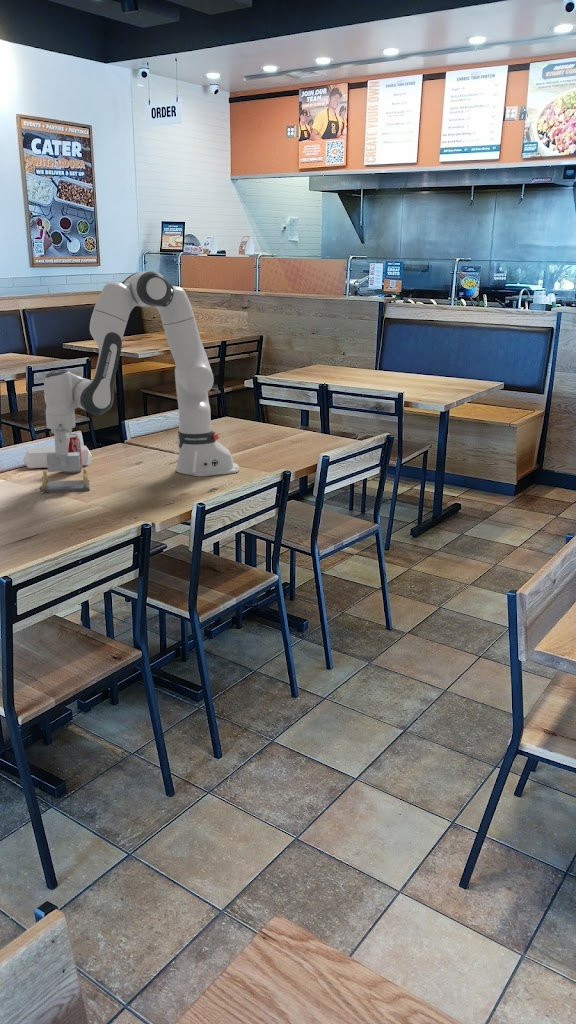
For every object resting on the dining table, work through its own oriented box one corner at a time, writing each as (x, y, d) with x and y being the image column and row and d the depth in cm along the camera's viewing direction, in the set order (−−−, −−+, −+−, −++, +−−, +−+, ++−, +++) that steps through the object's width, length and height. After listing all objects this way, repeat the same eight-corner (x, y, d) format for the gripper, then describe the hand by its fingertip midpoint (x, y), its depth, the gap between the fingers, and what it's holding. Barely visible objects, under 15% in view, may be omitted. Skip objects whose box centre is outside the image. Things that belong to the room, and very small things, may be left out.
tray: (89, 482, 262) (88, 468, 261) (89, 490, 253) (88, 475, 252) (42, 484, 259) (41, 470, 257) (41, 493, 250) (39, 477, 248)
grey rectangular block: (80, 467, 257) (79, 452, 256) (80, 470, 253) (79, 455, 252) (48, 468, 255) (47, 453, 254) (47, 471, 251) (46, 456, 249)
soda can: (76, 474, 271) (74, 438, 267) (57, 473, 273) (54, 436, 269) (85, 469, 278) (83, 433, 274) (67, 468, 279) (64, 432, 275)
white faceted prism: (22, 460, 274) (92, 457, 280) (22, 446, 278) (91, 443, 285) (24, 475, 279) (93, 472, 286) (24, 461, 284) (91, 458, 290)
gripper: (70, 428, 240) (73, 471, 245) (71, 415, 259) (74, 455, 264) (48, 428, 239) (52, 472, 243) (51, 416, 258) (55, 456, 262)
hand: (63, 463), depth 254 cm, fingers closed on grey rectangular block, 4 cm apart
